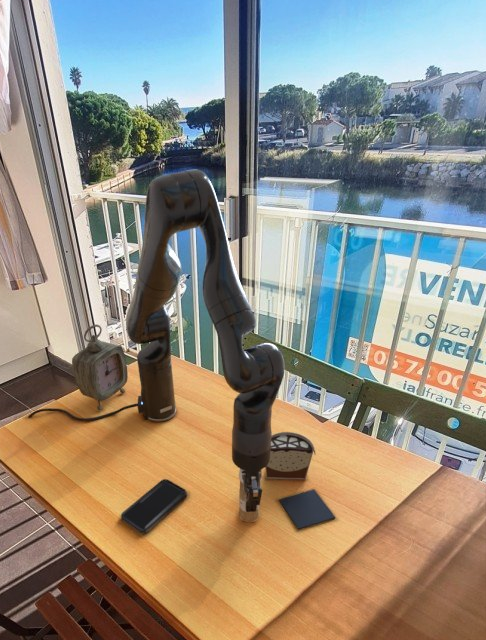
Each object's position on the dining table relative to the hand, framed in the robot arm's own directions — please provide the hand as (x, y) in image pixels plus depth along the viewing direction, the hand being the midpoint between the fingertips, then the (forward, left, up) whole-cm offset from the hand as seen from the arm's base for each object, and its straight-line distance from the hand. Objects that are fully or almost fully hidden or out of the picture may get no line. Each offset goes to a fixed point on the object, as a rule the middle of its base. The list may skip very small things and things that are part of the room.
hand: (249, 501), depth 97 cm
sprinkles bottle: (0, 0, -4) cm, 4 cm away
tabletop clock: (-37, +51, -5) cm, 64 cm away
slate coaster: (+13, +1, -5) cm, 14 cm away
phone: (-21, +5, -5) cm, 22 cm away
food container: (+11, +14, -5) cm, 18 cm away
